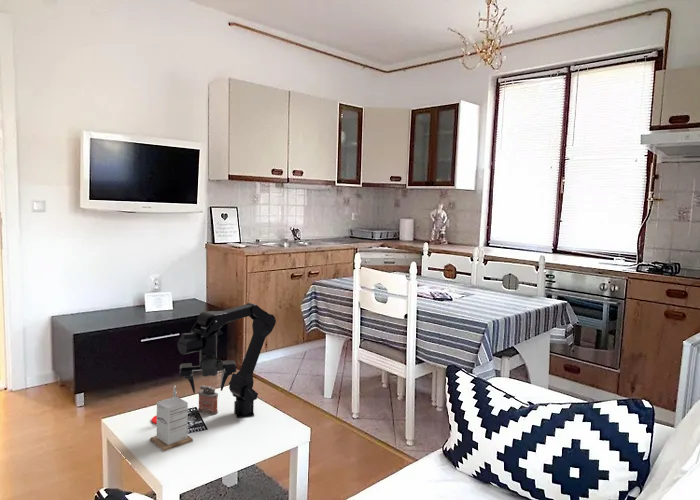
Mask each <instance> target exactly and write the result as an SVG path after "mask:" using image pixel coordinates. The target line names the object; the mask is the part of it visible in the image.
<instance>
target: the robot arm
mask: <svg viewBox="0 0 700 500" xmlns="http://www.w3.org/2000/svg"><path fill="white" fill-rule="evenodd" d="M247 317H249V318H250V319H251V320H252V328H251V329H252V336H251V340H250V341H249V345H248V346H247V347H248V348H247V350H246V352H245V355H244V357H243V361H242V364H241V365H240V366H241V367H240V368H239V371H237V363H236V361H234V359H231V360H224V359H223V360H222V359H218V354H217V353H218V336H221V335H223V333H224V332H222V330H220V329H221V328H222V327H224V325H226V324H228V323H230V322H234V321H237V320H240V319H243V318H247ZM276 323H277V319H276V316H275V315H273V314H272V313H269V312H267V311H266V310H264V309H263V308H261V307H260V306H259V305H257V304H255V303H251V302H248V303H245V304H242V305H239V306H236V307H235V306H234V307H231V308H227V309H224V310H220V311H217V310H216V311H215V310H211V311H210V310H209V311H201V312H200V313H199V315H198V317H197V320H196V321H195V322H194V324H193V326H192V328H191V329H190V332H188V333H186V332H184V333H181V334H180V337H179V339H178V342H177V349H178V352H179V353H180V354H181V355H187V354H192V353H196V352H199V365H193V363H192V362H189V363H188V362H187V363H181V364H180V365H179V376H180V377H183V378H184V379H187V380H188V382H189V384H190V387H191V390H192V393H193V394H195V393H196V389H195V380H194V374H193V373H196V372H201V375H202V377H210V376H212V377H214V376H217V374H218V372H220V371H221V378H220V380H221V381H220V392H221V391H223V389H224V386H225V384H226V382H227V379H228V378H229V376H230V375H231V378H230V379H229V380H230V381H229V382H228V386H229V387H228V389H229V391H230V393H231V395H232V397H234V398H235V401H234V402H233V403H234V404H233V412H234V415H236V417H235V418H238V419H239V418H247V417H255V412H254V406H255V405H254V402H255V401H256V400H258V396H259V393H258V392H257V391H256V390H254V376H253V374H254V372H255V369H256V365H257V363H258V360H259V357H260V355H261V352H262V348H263V347H264V346H263V345H264V343H265V340H266V338H267V337H268V336H269V335H270V334H271V333H272V331H273V330H274V327H275V326H276Z"/></svg>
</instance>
